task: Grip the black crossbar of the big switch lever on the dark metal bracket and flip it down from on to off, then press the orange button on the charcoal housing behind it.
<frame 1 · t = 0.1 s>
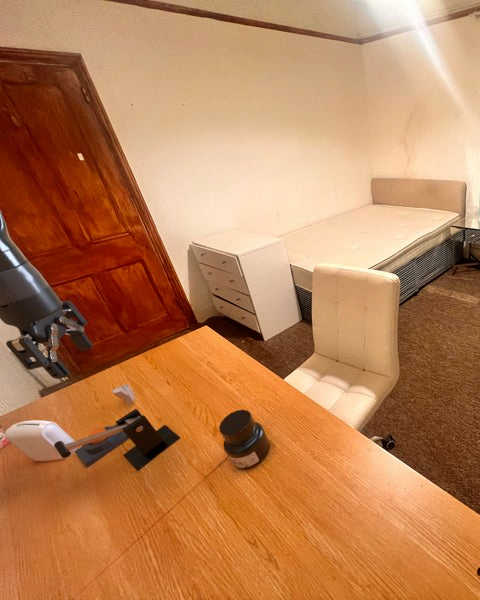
hand: (76, 361, 61), 32 cm above the table, tool pointing down, fingers open, 8 cm apart
pale grey angular bracket: (131, 402, 94), on the table
switch lever: (103, 434, 70), point 12 cm above the table, hinge at 24.0°
ink bottle: (252, 453, 77), on the table
button: (97, 436, 79), point 5 cm above the table, slide at 0.2 cm
button box: (108, 446, 81), on the table
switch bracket: (154, 448, 80), on the table
photo printer: (58, 454, 80), on the table
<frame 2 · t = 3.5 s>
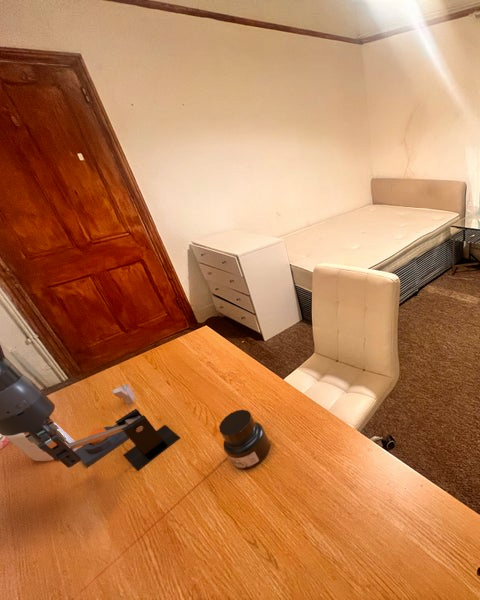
hand: (70, 456, 65), 12 cm above the table, tool pointing down, fingers closed on switch lever, 5 cm apart
switch lever: (103, 434, 70), point 12 cm above the table, hinge at 24.0°, touching gripper
everything else where it was.
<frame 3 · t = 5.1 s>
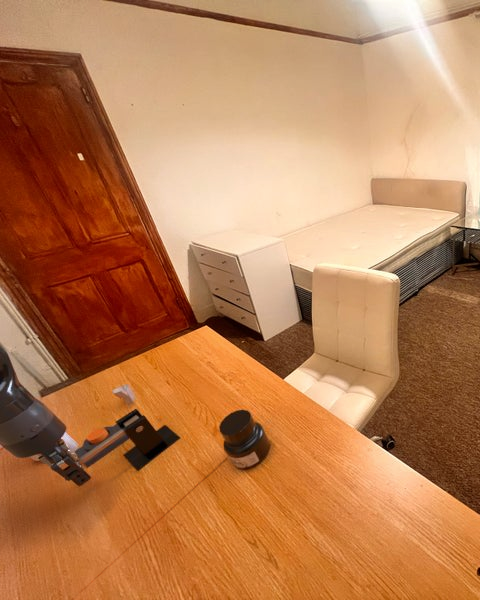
hand: (80, 474, 68), 7 cm above the table, tool pointing down, fingers closed on switch lever, 5 cm apart
switch lever: (106, 443, 70), point 10 cm above the table, hinge at -1.5°, touching gripper
everything else where it was.
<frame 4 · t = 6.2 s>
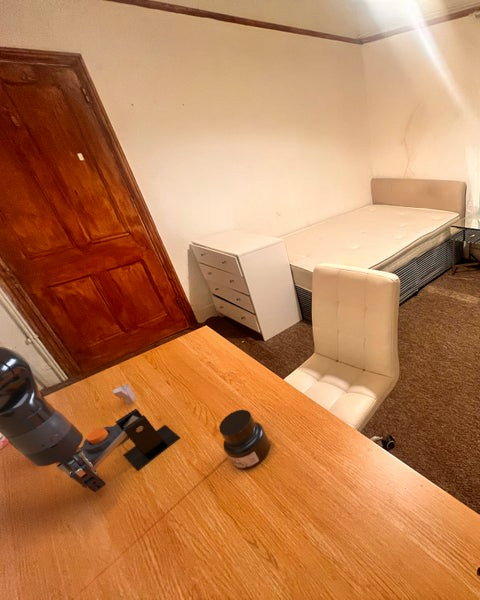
hand: (95, 481, 70), 3 cm above the table, tool pointing down, fingers closed on switch lever, 5 cm apart
switch lever: (112, 446, 72), point 8 cm above the table, hinge at -20.0°, touching gripper
everything else where it was.
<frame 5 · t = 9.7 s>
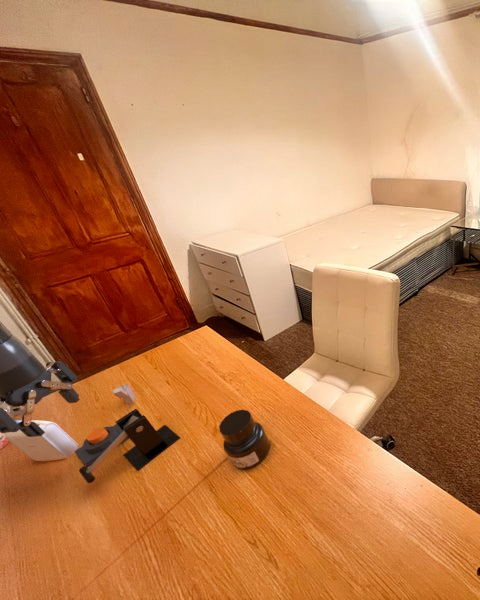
hand: (57, 417, 67), 18 cm above the table, tool pointing down, fingers open, 8 cm apart
switch lever: (112, 446, 72), point 8 cm above the table, hinge at -20.6°
everything else where it was.
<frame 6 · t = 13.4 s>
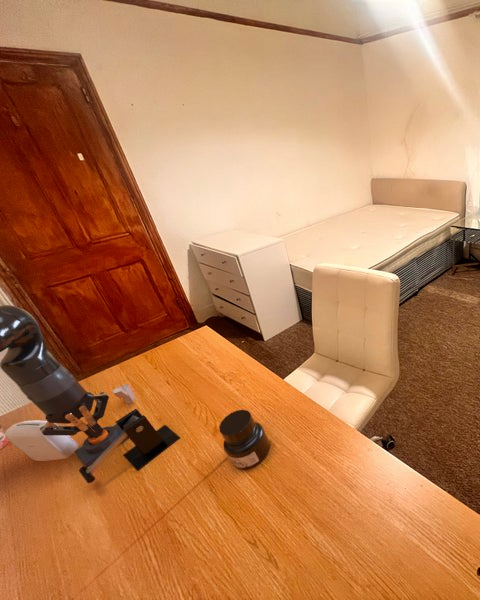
hand: (97, 434, 79), 5 cm above the table, tool pointing down, fingers closed
button: (99, 437, 79), point 4 cm above the table, slide at -0.4 cm, touching gripper
everything else where it was.
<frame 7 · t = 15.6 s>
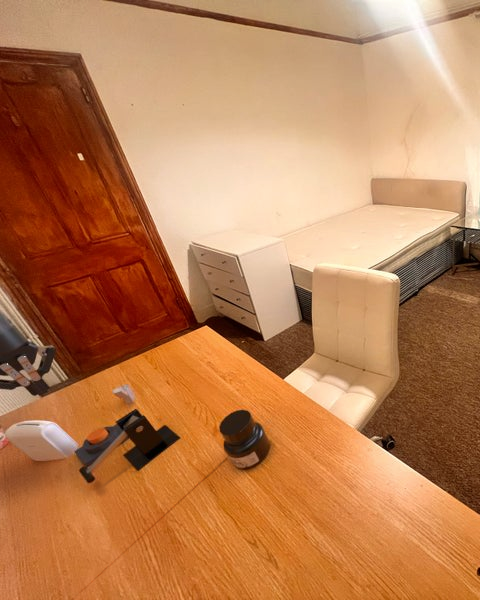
hand: (42, 393, 69), 21 cm above the table, tool pointing down, fingers closed
button: (97, 436, 79), point 5 cm above the table, slide at 0.2 cm
everything else where it was.
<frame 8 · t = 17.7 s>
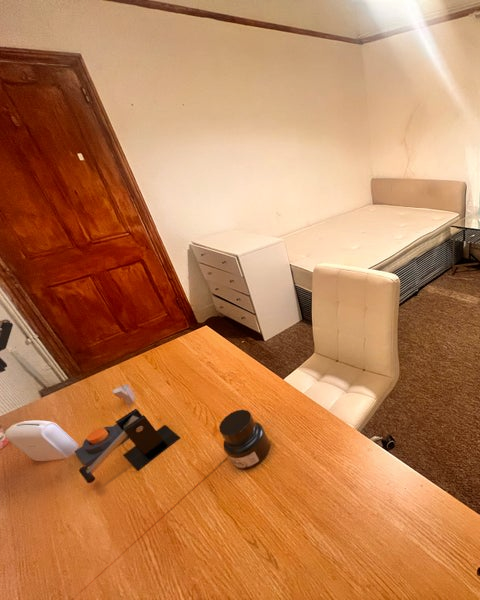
hand: (0, 371, 65), 29 cm above the table, tool pointing down, fingers closed
nothing on the table moved.
at the end: switch lever at -21° (first picture: +24°); button pushed in 1.1 cm at the most during the clip, back to 0.2 cm at the end; button slide at 0.2 cm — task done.
